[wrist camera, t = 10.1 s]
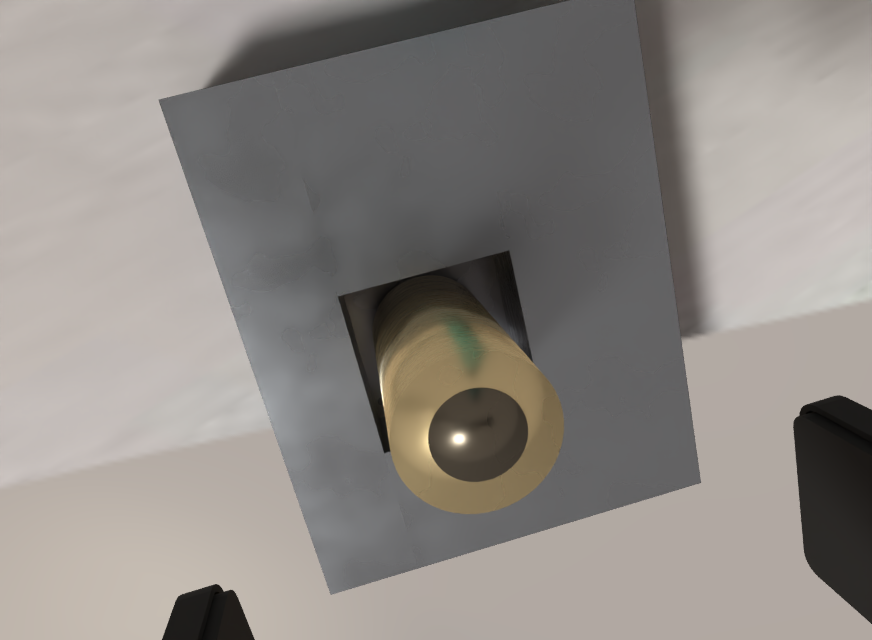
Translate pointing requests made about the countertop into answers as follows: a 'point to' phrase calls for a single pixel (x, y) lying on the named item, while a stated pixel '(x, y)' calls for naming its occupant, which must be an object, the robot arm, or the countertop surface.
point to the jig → (449, 261)
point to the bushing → (461, 400)
